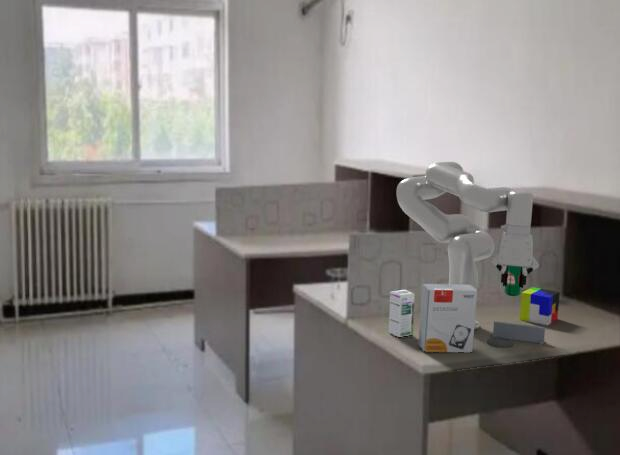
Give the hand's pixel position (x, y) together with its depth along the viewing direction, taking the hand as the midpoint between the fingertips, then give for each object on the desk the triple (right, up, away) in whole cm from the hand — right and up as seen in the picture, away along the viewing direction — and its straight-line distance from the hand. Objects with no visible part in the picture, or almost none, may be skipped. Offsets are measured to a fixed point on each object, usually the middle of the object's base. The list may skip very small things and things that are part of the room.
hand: (513, 285), depth 241 cm
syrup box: (-35, -17, +6) cm, 39 cm away
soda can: (0, -3, +1) cm, 3 cm away
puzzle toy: (+16, -14, +27) cm, 35 cm away
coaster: (-4, -18, 0) cm, 19 cm away
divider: (+3, -18, +4) cm, 18 cm away
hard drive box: (-23, -19, -7) cm, 31 cm away
